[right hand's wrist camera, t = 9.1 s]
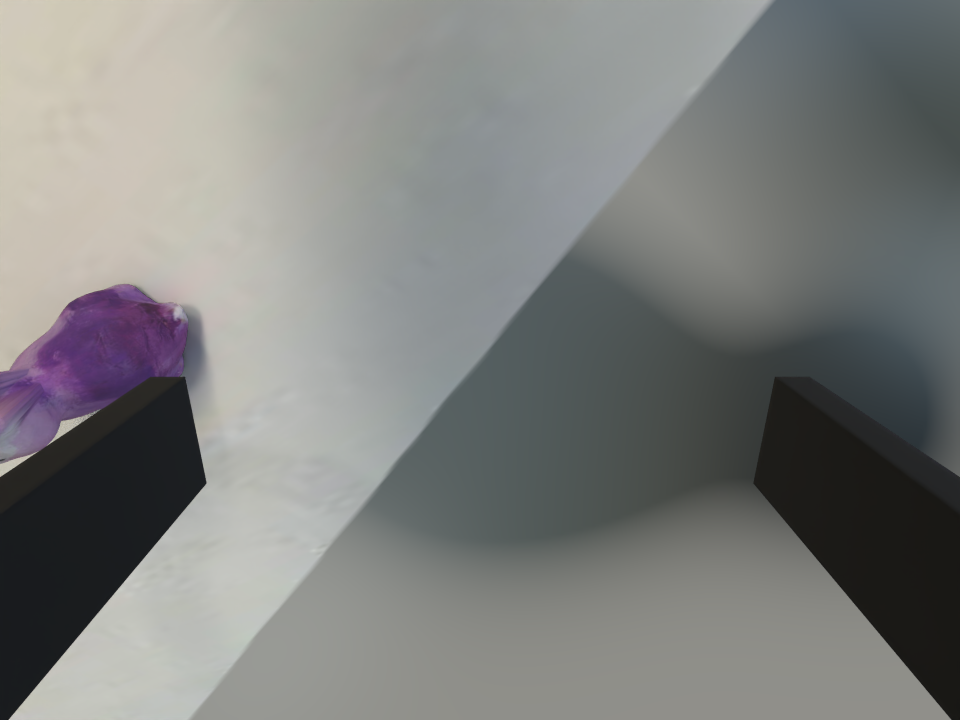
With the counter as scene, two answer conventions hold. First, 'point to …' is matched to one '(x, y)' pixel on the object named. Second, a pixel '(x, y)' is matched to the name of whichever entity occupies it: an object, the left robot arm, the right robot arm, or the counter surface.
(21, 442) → the figurine
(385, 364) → the counter surface
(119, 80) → the counter surface
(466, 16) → the counter surface
